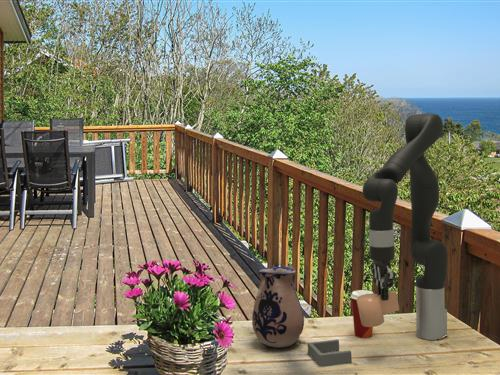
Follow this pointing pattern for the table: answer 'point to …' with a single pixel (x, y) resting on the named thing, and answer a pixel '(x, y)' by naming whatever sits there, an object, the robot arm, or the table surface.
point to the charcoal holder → (328, 358)
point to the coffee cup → (358, 327)
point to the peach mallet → (376, 308)
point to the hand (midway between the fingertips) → (383, 298)
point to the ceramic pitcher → (277, 308)
